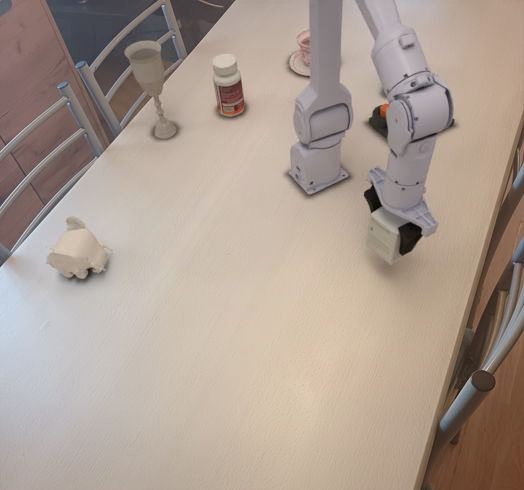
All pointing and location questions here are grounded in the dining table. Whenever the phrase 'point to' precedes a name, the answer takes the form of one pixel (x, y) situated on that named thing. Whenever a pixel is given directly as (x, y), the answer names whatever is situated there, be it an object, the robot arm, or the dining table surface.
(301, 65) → the teacup
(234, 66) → the pill bottle
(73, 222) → the elephant figurine
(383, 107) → the button
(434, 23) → the dining table surface
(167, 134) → the chalice
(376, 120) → the scale
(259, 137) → the dining table surface
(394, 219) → the product box
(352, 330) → the dining table surface
